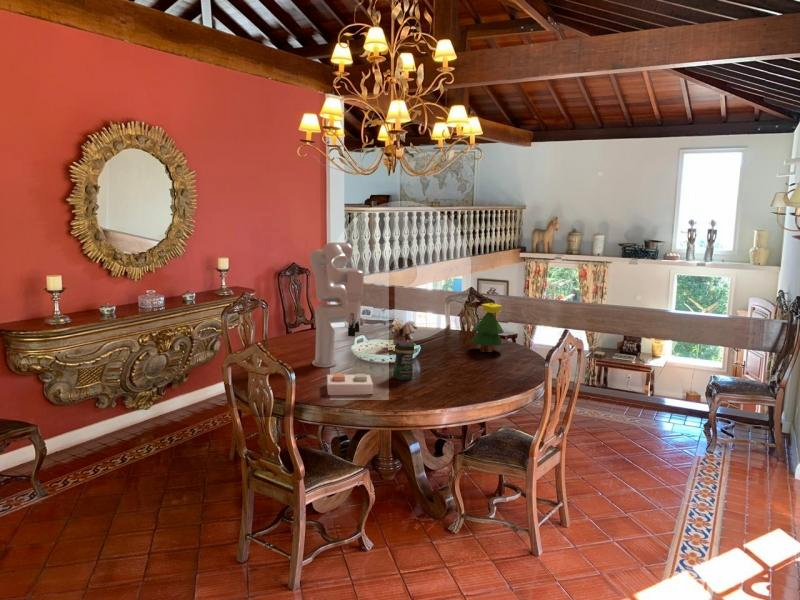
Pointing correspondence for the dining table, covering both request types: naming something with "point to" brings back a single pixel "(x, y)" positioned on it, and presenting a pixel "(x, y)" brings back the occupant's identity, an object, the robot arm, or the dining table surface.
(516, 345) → the dining table surface
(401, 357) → the coffee jar
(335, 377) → the terracotta button
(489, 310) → the decorative tree
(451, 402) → the dining table surface
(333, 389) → the button panel
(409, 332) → the cherub figurine
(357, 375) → the sage button
